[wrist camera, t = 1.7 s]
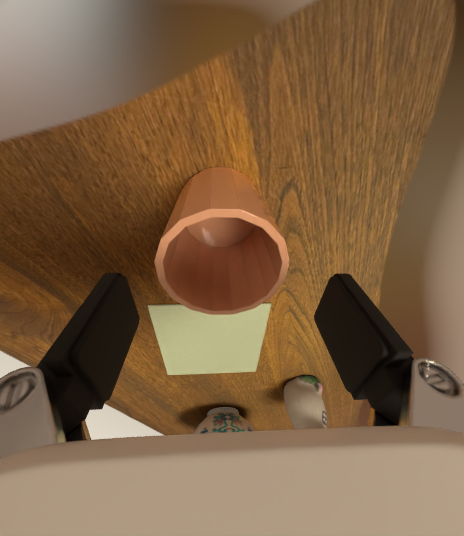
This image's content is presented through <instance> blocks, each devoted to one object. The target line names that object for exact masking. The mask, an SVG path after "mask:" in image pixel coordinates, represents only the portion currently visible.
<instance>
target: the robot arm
mask: <svg viewBox="0 0 464 536" xmlns="http://www.w3.org/2000/svg"><path fill="white" fill-rule="evenodd" d="M314 320H315V323H316V325H317V327H318V329H319V332H320V334H321V336H322V338H323V340H324V342H325V345H326V347H327V349H328V351H329V353H330V355H331V358H332V360H333V362H334V364H335V366H336V369H337V371H338V373H339V375H340V377H341V379H342V382H343V384H344V386H345V388H346V390H347V391H348V392H351V394H352V397H353V399H354V400H362V399H368V401H369V403H370V405H371V407H370V412H369V417H368V422H367V426H365V427H339V428H314V429H291V430H269V431H247V432H225V433H204V434H185V435H165V436H145V437H126V438H112V439H99V440H91V438H90V435H89V431H88V428H87V425H86V422H85V419H86V417H87V414H88V412H89V410H93V409H102V408H103V405H104V403H105V401H107V400H109V399H110V397H111V395H112V392H113V390H114V387H115V385H116V382H117V379H118V377H119V374H120V371H121V369H122V366H123V364H124V361H125V358H126V356H127V353H128V351H129V348H130V345H131V343H132V340H133V337H134V335H135V332H136V330H137V327H138V324H139V314H138V311H137V308H136V305H135V302H134V299H133V296H132V293H131V290H130V287H129V284H128V281H127V278H126V277H125V276H122V274H121V273H105V274H104V275H103V276H102V277H101V279H100V280H99V282H98V283H97V284H96V286H95V287H94V289H93V290H92V291H91V293H90V294H89V296H88V297H87V298H86V300H85V301H84V303H83V304H82V305H81V306H80V307H79V309H78V310H77V312H76V313H75V314H74V316H73V317H72V318H71V320H70V321H69V323H68V324H67V325H66V327H65V328H64V330H63V331H62V332H61V334H60V335H59V337H58V338H57V339H56V341H55V342H54V344H53V345H52V346H51V348H50V349H49V350H48V352H47V353H46V355H45V356H44V357H43V359H42V360H41V362H40V363H39V364H38V366H37V367H25V368H20V369H17V370H15V371H13V372H10V373H8V374H7V375H5V376H4V377H2V378H0V536H464V384H463V383H462V382H461V380H460V379H459V378H458V376H456V374H455V373H453V372H452V371H451V370H450V369H449V368H447V367H446V366H444V365H443V364H441V363H439V362H437V361H434V360H432V359H430V358H424V357H421V358H416V359H415V360H414V358H413V357H412V356H411V355H412V354H413V352H412V350H411V349H410V348H409V347H408V345H407V344H406V343H405V342H404V341H403V339H402V338H401V337H400V336H399V334H398V333H397V332H396V331H395V329H394V328H393V327H392V326H391V324H390V323H389V322H388V321H387V320H386V318H385V317H384V316H383V315H382V313H381V312H380V311H379V310H378V308H377V307H376V306H375V305H374V303H373V302H372V301H371V300H370V299H369V297H368V296H367V295H366V294H365V292H364V291H363V290H362V289H361V287H360V286H359V285H358V284H357V282H356V281H355V280H354V279H353V278H352V276H351V275H350V274H335V275H334V276H333V277H331V278H330V279H329V281H328V284H327V286H326V289H325V291H324V293H323V296H322V298H321V300H320V303H319V305H318V308H317V310H316V312H315V315H314Z"/></svg>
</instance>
